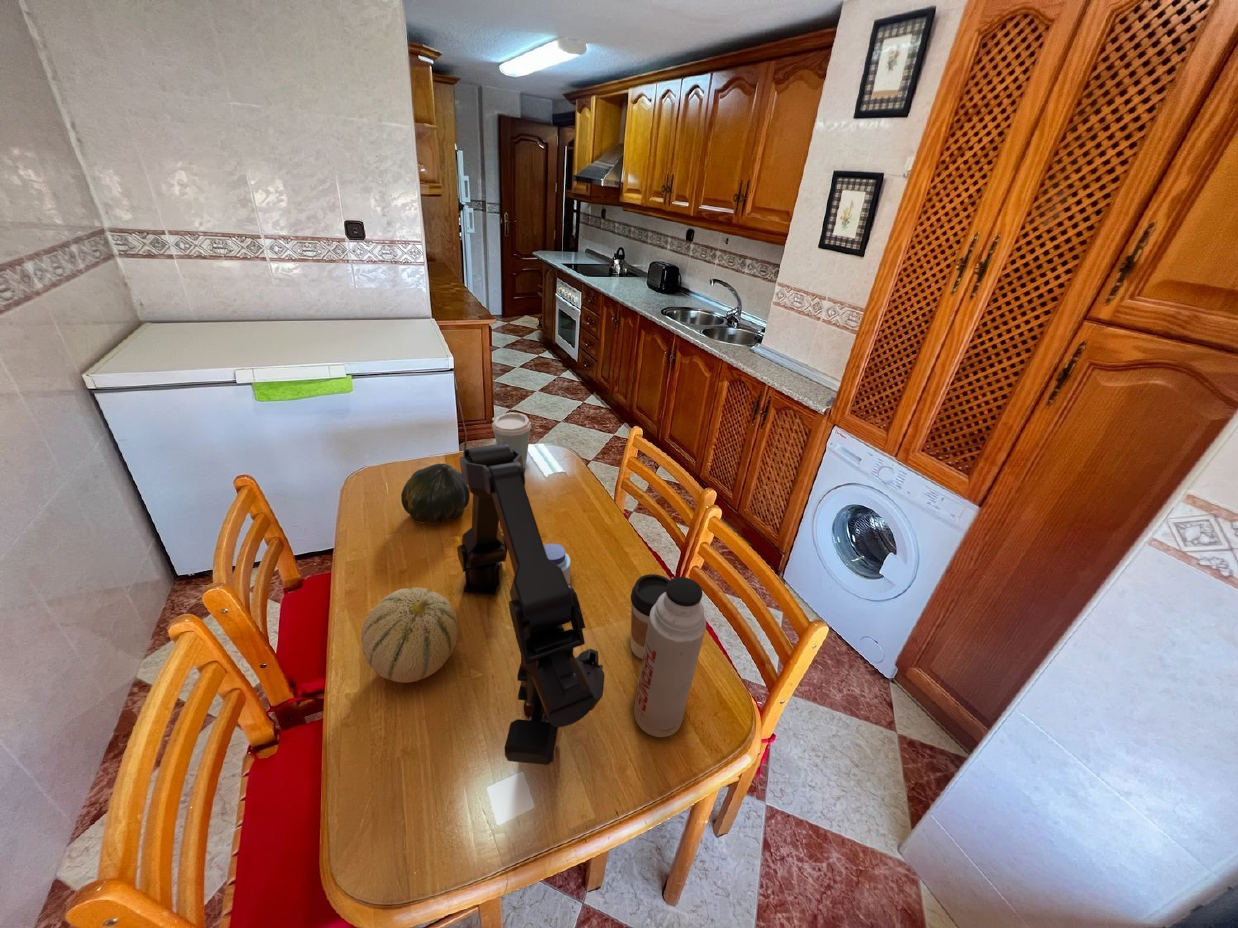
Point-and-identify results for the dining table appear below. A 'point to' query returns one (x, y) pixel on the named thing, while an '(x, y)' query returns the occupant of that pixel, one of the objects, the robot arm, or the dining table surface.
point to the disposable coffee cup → (513, 432)
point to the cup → (527, 712)
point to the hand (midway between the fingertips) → (541, 725)
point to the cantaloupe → (409, 634)
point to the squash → (435, 494)
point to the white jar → (559, 558)
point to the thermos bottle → (670, 657)
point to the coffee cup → (644, 608)
